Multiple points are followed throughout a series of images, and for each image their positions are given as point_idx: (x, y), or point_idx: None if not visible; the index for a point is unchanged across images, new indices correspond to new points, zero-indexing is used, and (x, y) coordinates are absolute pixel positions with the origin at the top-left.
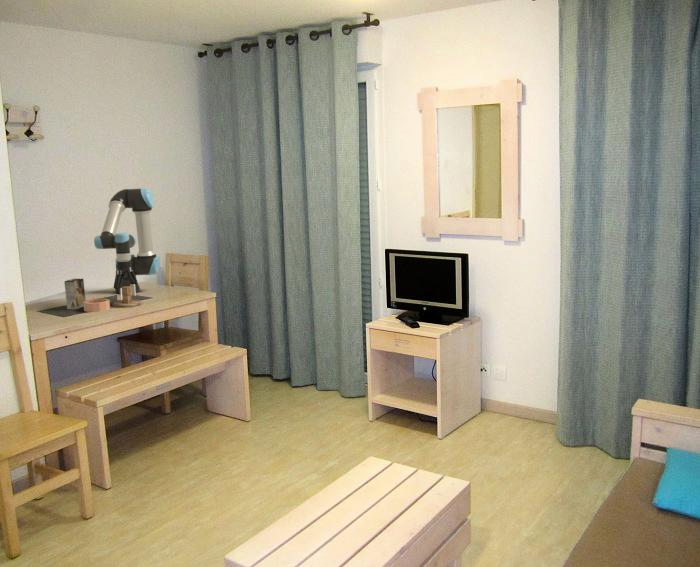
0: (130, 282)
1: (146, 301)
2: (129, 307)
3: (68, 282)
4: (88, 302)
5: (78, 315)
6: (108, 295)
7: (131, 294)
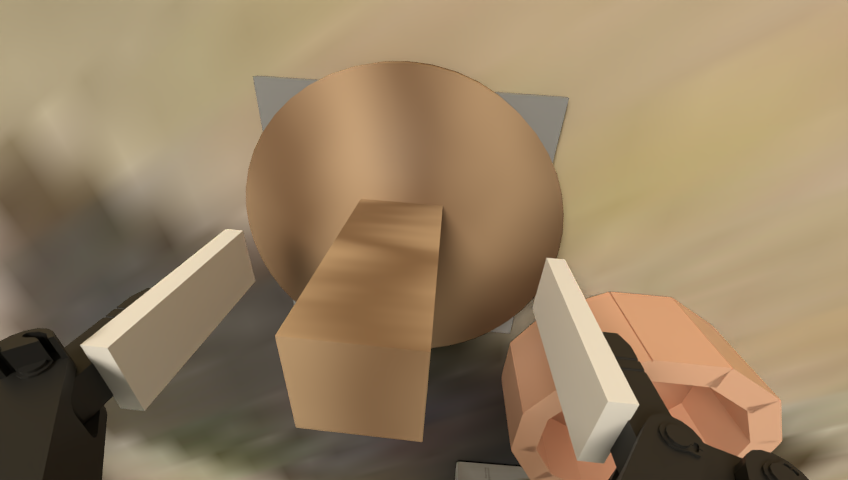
0: (102, 442)
1: (161, 117)
2: (561, 127)
3: None
4: (598, 475)
5: (810, 407)
6: (138, 459)
7: (335, 245)
